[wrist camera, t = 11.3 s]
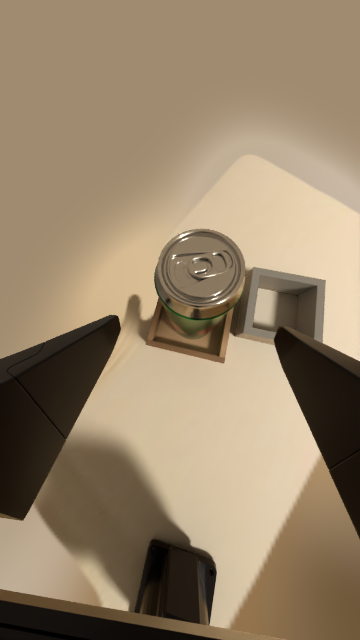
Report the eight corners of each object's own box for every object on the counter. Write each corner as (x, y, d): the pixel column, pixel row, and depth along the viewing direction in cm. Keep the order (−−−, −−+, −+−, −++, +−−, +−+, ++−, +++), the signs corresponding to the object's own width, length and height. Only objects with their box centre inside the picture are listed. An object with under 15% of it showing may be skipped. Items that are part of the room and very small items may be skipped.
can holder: (300, 351, 19) (322, 350, 16) (234, 336, 19) (243, 333, 16) (305, 291, 20) (325, 280, 17) (244, 279, 21) (253, 267, 18)
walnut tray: (220, 362, 19) (224, 363, 17) (149, 345, 20) (145, 344, 18) (232, 294, 21) (236, 288, 19) (167, 281, 21) (165, 274, 19)
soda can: (168, 305, 20) (141, 234, 8) (206, 295, 20) (234, 212, 8) (177, 344, 19) (161, 327, 7) (218, 334, 19) (269, 300, 7)
